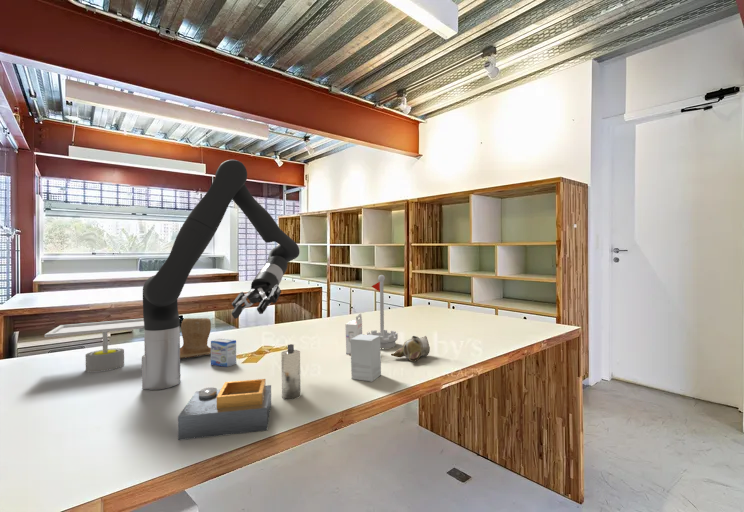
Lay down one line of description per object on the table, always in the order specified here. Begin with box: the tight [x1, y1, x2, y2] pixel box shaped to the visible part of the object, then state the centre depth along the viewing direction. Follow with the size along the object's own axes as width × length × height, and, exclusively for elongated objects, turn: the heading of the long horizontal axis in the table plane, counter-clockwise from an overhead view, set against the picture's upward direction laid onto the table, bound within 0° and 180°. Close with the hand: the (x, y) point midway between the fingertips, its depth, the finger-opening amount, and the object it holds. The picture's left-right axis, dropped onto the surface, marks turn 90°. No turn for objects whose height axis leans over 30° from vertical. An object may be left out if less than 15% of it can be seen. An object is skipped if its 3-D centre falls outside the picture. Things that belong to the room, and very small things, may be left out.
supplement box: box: [350, 333, 382, 382], centre depth 112 cm, size 7×7×13 cm
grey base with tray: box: [177, 378, 272, 441], centre depth 84 cm, size 18×14×8 cm
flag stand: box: [366, 274, 399, 349], centre depth 151 cm, size 13×13×30 cm
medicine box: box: [210, 338, 237, 368], centre depth 127 cm, size 8×4×9 cm, turn 68°
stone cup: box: [180, 317, 212, 360], centre depth 138 cm, size 15×12×15 cm
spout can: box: [280, 344, 302, 400], centre depth 98 cm, size 5×5×14 cm
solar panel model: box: [44, 317, 144, 373], centre depth 125 cm, size 28×17×15 cm, turn 118°
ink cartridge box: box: [345, 313, 363, 355], centre depth 142 cm, size 9×5×15 cm, turn 168°
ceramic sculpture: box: [390, 335, 431, 362], centre depth 132 cm, size 11×9×15 cm
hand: (246, 314), depth 101 cm, fingers open, 8 cm apart
